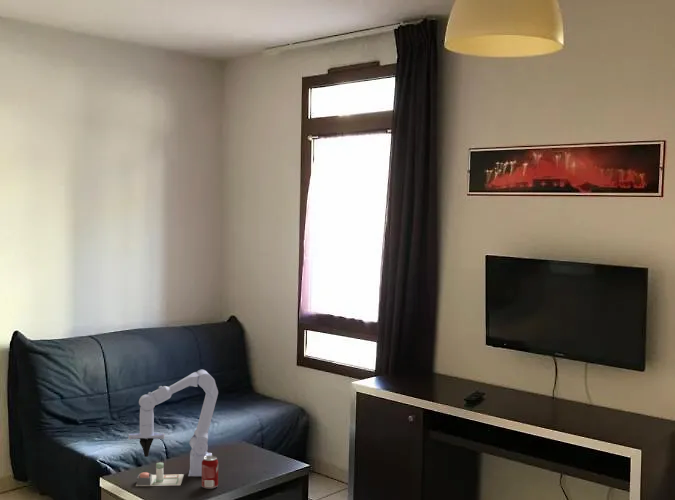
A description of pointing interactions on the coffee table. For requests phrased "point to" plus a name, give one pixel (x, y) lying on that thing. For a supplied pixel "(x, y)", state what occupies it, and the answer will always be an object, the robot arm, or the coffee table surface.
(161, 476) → the marker
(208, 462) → the soda can
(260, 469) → the coffee table surface
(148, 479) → the button base
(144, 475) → the button
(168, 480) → the sheet
